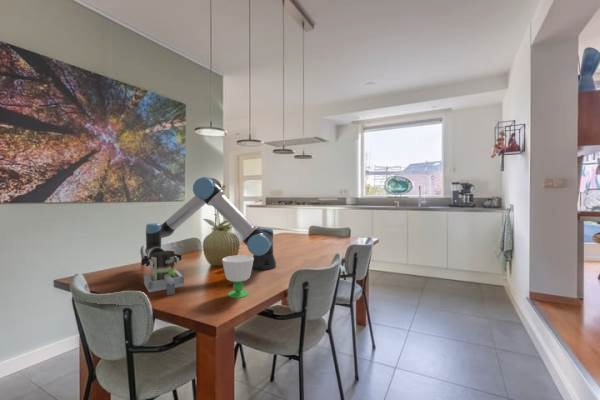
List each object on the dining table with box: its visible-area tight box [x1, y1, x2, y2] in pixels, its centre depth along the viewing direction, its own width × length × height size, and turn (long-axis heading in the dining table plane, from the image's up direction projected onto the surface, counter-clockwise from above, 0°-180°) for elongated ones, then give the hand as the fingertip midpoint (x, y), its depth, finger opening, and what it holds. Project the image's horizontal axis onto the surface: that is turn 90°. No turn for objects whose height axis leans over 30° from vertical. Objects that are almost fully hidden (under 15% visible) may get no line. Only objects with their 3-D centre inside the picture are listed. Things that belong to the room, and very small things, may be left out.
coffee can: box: [151, 250, 176, 281], centre depth 142 cm, size 10×10×14 cm
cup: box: [221, 254, 254, 299], centre depth 129 cm, size 14×14×16 cm
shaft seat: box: [143, 269, 185, 296], centre depth 138 cm, size 24×15×7 cm, turn 35°
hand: (165, 263), depth 138 cm, fingers open, 11 cm apart
